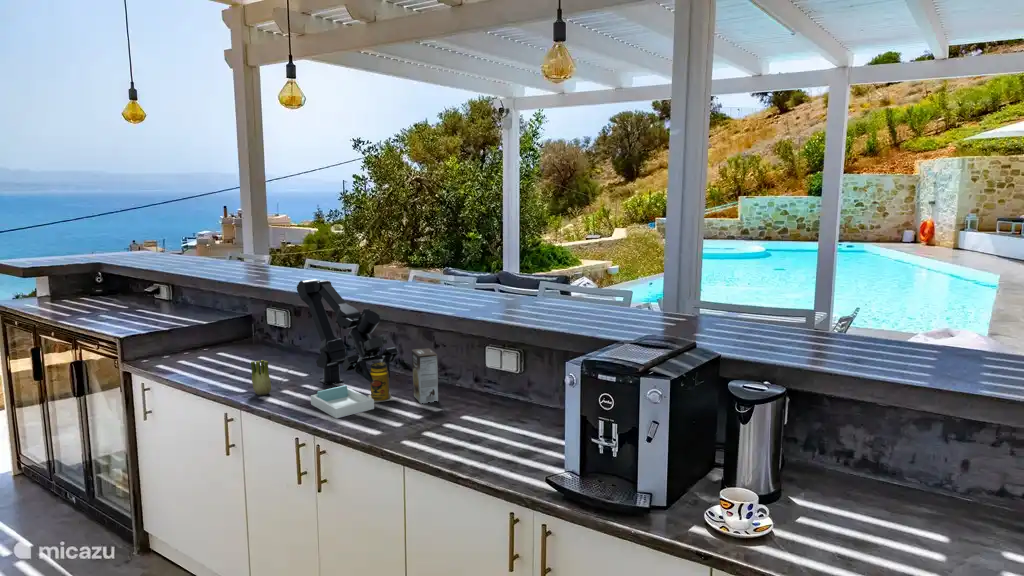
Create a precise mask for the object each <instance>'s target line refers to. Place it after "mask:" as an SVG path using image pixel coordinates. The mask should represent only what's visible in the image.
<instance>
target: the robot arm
mask: <svg viewBox="0 0 1024 576" xmlns="http://www.w3.org/2000/svg"><path fill="white" fill-rule="evenodd" d="M296 291H297V293H298V296H299V298H300V299H301V300H302V301H303V303H305V304H306V305H307V306H308V309H309V312H310V314H311V317H312V321H314V326H315V328H316V332H317V333H318V336H319V339H320V342H321V343H320V346H319V354H320V355H319V356H318V358H316V366H317V368H321V369H322V373H323V376H322V377H323V379H320V380H319V382H320V381H321V383H322V382H323V383H322V384H324V383H325V385H326V384H327V386H330V385H333V383H335V384H338V382H339V383H342V382H341V381H344V379H342V378H341V374H340V365H342V368H343V371H344V372H345V373H346V372H351V371H352V372H353V373H356V374H358V375H360V376H361V377H363V378H364V379H365V380H366V381H368V382H369V383H370V382H371V383H372V382H373V379H372V377H371V375H370V373H371V372H370V371H369V368H368V366H367V363H370V362H377V361H379V362H384V363H386V364H387V371H388V373H389V379H390V378H391V373H390V372H391V371H390V369H391V368H390V363H393V362H394V361H395V360H396V359H397V357H398V355H399V354H400V352H399V350H398V348H397V347H395V346H393V347H388V348H385V349H384V351H383V352H381V348H383V347H384V346H385V345H386V344H387V343H388V338H387V337H386V335H385V334H381V335H378V336H377V337H374V338H372V337H371V336H370V334H372V333H373V332H374V331H375V329H376V328H377V326H378V325H379V323H380V322H381V316H380V315H379V314H377V313H376V312H375V311H373V310H371V309H370V308H369V307H367V308H364V309H363V310H362V312H360V311H359V310H358V309H357V308H355V307H354V306H352V305H349V304H348V303H347V302H346V301H345V299H343V297H342V296H341V295H340V294H339V293H338V291H337V290H336V289H335V288H334V286H333V285H332V282H331V281H330V280H329V279H317V278H313V279H305V280H300V281H299V282H298V284H297V285H296ZM323 299H324V301H325V302H326V304H328V305H329V307H330V308H331V309H332V310H333V312H334V313H335V320H336V322H337V323H338V325H339V326H340V328H342V330H349V329H351V330H349V331H348V335H347V339H348V340H352V342H353V344H354V347H355V353H358V354H352V355H347V350H346V349H347V347H346V346H345V343H344V340H343V339H342V338H337V337H336V335H335V334H334V331H333V329H332V328H333V327H332V325H331V322H330V319H329V317H328V314H327V312H326V308H325V306H324V303H323V301H322V300H323ZM379 352H381V353H379Z"/></svg>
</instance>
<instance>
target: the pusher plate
mask: <svg viewBox="0 0 1024 576" xmlns="http://www.w3.org/2000/svg"><path fill="white" fill-rule="evenodd" d="M347 387H348V385H347V384H346V385H345V384H344V385H341V386H337V387H336V386H335V387H332V388H331V387H330V388H327V389H323V390H318V391H317V393H316V394H317V395H318V398H320V399H322V400H324V401H331V400H335V399H339V398H343V397H348V393H347Z"/></svg>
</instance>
